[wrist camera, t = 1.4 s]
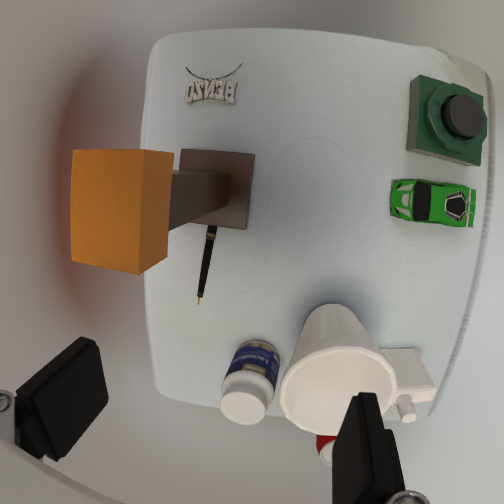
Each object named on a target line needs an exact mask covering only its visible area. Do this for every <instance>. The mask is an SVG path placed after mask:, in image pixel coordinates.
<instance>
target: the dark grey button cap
mask: <svg viewBox="0 0 504 504" xmlns="http://www.w3.org/2000/svg"><path fill="white" fill-rule="evenodd" d="M442 119H443V122H444V125H445V127H446V128H447V130H448V131H449V132H450V133H451V134H453V135H454V136H456V137H459V138H465V137H471V136H475V135H477V134H479V133H480V132H481V130H482V128H483V125H484V115H483V112H482V109H481V107H480V106H479V104H478V103H477V102H476V101H475V100H474V99H473V98H471V97H470V96H467V95H458V96H456V97H454V98H452V99H449V100H448V101H446V102H445V104H444V105H443V108H442Z"/></svg>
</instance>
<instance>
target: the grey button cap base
mask: <svg viewBox="0 0 504 504" xmlns="http://www.w3.org/2000/svg"><path fill="white" fill-rule="evenodd" d="M458 95H467V96H470V97H471V98H473V99H474V100H475V101H476V102H477V103H478V104H479V106H480V107H481V109H482V112H483V115H484V125H483V128H482V130H481V132H480V133H479V134H477V135H475V136H471V137H465V138H459V137H456V136H454V135H453V134H451V133H450V132H449V131H448V130H447V128H446V127H445V125H444V122H443V119H442V108H443V105H444V104H445V102H446V101H448V100H449V99H452V98H454V97H456V96H458ZM486 136H487V117H486V114H485V112H484V109H483V96H481V95H479V94H476V93H473V92H471V91H470V90H469V89H467V88H465V87H462V86H459V85H457V84H454V83H451V84H448V83H445V82H442V81H439V80H436V79H433V78H430V77H426V76H423V75H419V76H418V77H416V78H415V79H414V80H413V81H412V82H411V87H410V111H409V126H408V139H407V151H412V152H416V153H420V154H424V155H428V156H432V157H436V158H439V159H443V160H447V161H450V162H454V163H457V164H461V165H464V166H480V164H481V151H482V143H483V141H484V140H485V138H486Z"/></svg>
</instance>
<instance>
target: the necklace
mask: <svg viewBox="0 0 504 504" xmlns="http://www.w3.org/2000/svg"><path fill="white" fill-rule="evenodd" d="M242 64H243V63H241V64H240V65H242ZM240 65H239V67H238V68H240ZM185 68H186V67H185ZM238 68H237V69H238ZM187 69H188V68H187ZM235 71H236V69H235ZM235 71H234V72H235ZM188 72H189V69H188ZM234 72H232V73H234ZM189 73H190V74H192V73H191V72H189ZM232 73H230V75H231V74H232ZM192 75H193V76H195V75H194V74H192ZM227 76H229V74H228V75H226V77H227ZM196 77H197V76H196ZM197 78H199V79H203V80H206V79H205V78H200V77H197ZM221 78H224V77H220V78H216V80H217V79H221ZM207 80H209V81H196V82H193V81H189V82H188V83H187V85H186V91H185V98H184V100H185V102H186V103H191V102H192V101H193V100H194V101H197V100H202V99H203V98H204V99H208V98H210V99H217V100H222V101H225V99H226V101H227V102H228V103H231V104H233V105H235V100H234V97H235V89H236V88H237V81H228V82H226V81H212V80H215V79H212V78H209V79H207ZM215 86H216V88H218V92H220V94H219V93H218V92H215ZM220 86H221V88H219V87H220ZM225 87H226V91H225ZM230 87H231V89H230ZM190 88H191V93H190ZM201 88H202V89H205V91H204V95H203V92H202V89H201ZM196 89H197V92H198V93H195V90H196ZM224 93H225V96H224ZM229 94H230V97H229ZM189 95H190V97H189Z"/></svg>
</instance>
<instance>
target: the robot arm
mask: <svg viewBox="0 0 504 504" xmlns="http://www.w3.org/2000/svg"><path fill="white" fill-rule="evenodd" d="M16 393H17V396H16V397H14V396H13V394H12V393H10V392H9V391H6V390H0V504H124V503H122V502H120V501H117V500H115V499H112V498H110V497H108V496H105V495H103V494H101V493H99V492H97V491H95V490H92V489H91V488H89V487H86V486H85V485H83V484H80V483H78V482H77V481H75V480H73V479H71V478H69V477H67V476H65V475H63V474H62V473H60V472H58V471H56V470H55V469H53V468H51V467H50V466H48V465H46V464H45V463H43V456H44V455H45V454H46V456H47V457H49V458H50V459H52V460H54V461H56V462H58V460H59V459H60V458H61V457H65V456H66V455H67V453H68V452H69V451H70V450H71V448H72V447H73V446H74V445H75V443H76V442H77V441H78V439H79V438H80V437H81V436H82V434H83V433H84V432H85V431H86V429H87V428H88V427H89V426H90V424H91V423H92V422H93V421H94V419H95V418H96V417H97V416H98V415H99V413H100V412H101V411H102V410H103V408H104V407H105V406H106V405H107V403H108V398H109V397H108V392H107V387H106V382H105V378H104V373H103V367H102V363H101V357H100V351H99V347H98V346H97V345H96V342H95V341H94V340H91V339H88V338H85V337H79V338H78V339H77V340H75V341H74V342H73V343H72V344H71V345H69V346H68V347H67V348H66V349H65V350H63V351H62V352H61V353H60V354H59V355H57V356H56V357H55V358H54V359H53V360H51V361H50V362H49V363H48V364H47V365H45V366H44V367H43V368H42V369H41V370H40V371H38V372H37V373H36V374H35V375H34V376H32V377H31V378H30V379H29V380H28V381H27V382H26V383H24V384H23V385H22V386H21V387H20V388H19V389H17V390H16ZM332 486H333V487H332V504H430V502H429V500H428V499H427V498H426V497H425V496H424V495H422V494H421V493H419V492H416V491H410V490H407V491H406V489H405V484H404V479H403V474H402V470H401V464H400V460H399V455H398V451H397V446H396V442H395V438H394V434H393V431H392V430H391V429H384V425H383V420H382V416H381V411H380V407H379V403H378V399H377V395H376V393H371V392H359V393H358V395H357V396H352V398H351V401H350V404H349V407H348V409H347V412H346V415H345V417H344V420H343V422H342V425H341V427H340V430H339V432H338V435H337V437H336V439H335V442H334V444H333V448H332Z"/></svg>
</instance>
